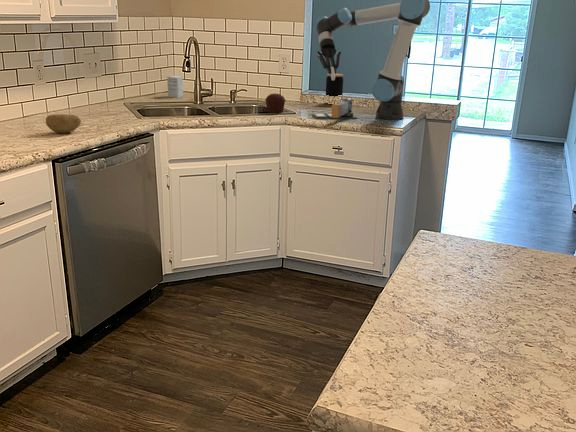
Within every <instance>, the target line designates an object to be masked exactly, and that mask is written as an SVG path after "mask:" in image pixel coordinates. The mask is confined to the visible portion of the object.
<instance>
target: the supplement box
mask: <svg viewBox="0 0 576 432" xmlns="http://www.w3.org/2000/svg"><path fill="white" fill-rule="evenodd" d="M166 81H167V82H166V83H167V88H166V89H167V97H168V98H175V97H176V99H178V98H182V97H184V85H183V84H184V83H183V76H181V75H179V76H178V75H171V76H167V77H166Z"/></svg>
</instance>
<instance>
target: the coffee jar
mask: <svg viewBox="0 0 576 432" xmlns="http://www.w3.org/2000/svg"><path fill="white" fill-rule="evenodd" d="M335 76H336V77H335V80H331V75H330V74H329V73H326V78H325V80H326V81H325V94H326V95H329V96H338V95H342V96H343V93H344V91H343V90H344V74H342V73H336V74H335Z"/></svg>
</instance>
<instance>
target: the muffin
mask: <svg viewBox="0 0 576 432" xmlns="http://www.w3.org/2000/svg"><path fill="white" fill-rule="evenodd" d="M264 100H265V105H266V111H267V113H269V114H282V113H283V112H284V108H285V103H286V99H285V97H284V96H283V95H282V94H280V93H271V94H269V95H267V96H266V98H265V99H264Z"/></svg>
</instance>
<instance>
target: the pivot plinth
mask: <svg viewBox="0 0 576 432" xmlns="http://www.w3.org/2000/svg"><path fill="white" fill-rule="evenodd" d="M340 118H341V119H340V120H353V119H354V120H358V117H357V116H355V115H354V112H351V113H347V114H344V115H342V116H340Z"/></svg>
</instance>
